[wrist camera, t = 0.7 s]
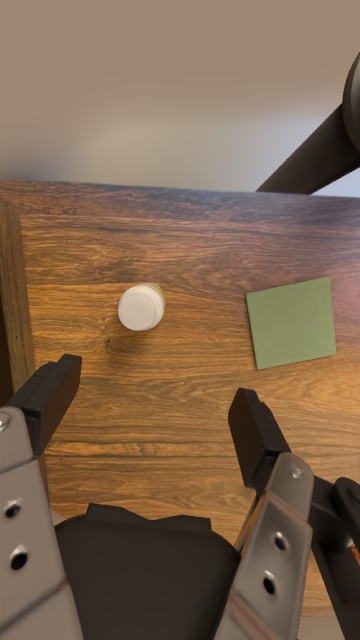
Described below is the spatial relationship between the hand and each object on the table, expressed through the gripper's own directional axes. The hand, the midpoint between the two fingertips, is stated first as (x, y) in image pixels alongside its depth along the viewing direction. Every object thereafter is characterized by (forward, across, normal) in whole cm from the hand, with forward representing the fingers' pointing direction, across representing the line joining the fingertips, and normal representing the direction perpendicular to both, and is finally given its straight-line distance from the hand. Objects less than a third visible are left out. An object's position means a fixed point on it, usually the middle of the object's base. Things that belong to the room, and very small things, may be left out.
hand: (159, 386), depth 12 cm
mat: (+22, -19, +2) cm, 30 cm away
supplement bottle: (+24, +2, +4) cm, 24 cm away
